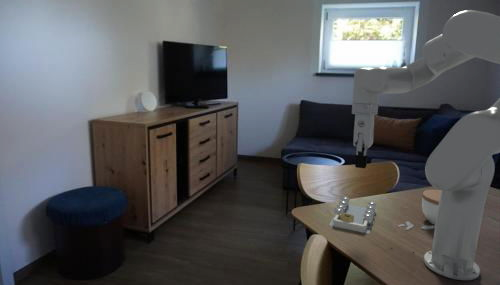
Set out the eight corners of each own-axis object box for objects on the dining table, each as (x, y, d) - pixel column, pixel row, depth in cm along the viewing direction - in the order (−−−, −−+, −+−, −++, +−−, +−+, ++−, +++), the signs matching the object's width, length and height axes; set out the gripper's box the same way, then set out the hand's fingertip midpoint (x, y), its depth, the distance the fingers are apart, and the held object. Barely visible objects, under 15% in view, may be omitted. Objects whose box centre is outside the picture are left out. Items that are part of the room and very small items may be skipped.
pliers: (441, 221, 116) (417, 233, 108) (441, 226, 117) (416, 238, 108) (412, 211, 124) (387, 222, 115) (411, 215, 124) (386, 226, 116)
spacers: (370, 226, 112) (371, 217, 112) (333, 218, 117) (334, 210, 116) (375, 210, 124) (376, 202, 124) (341, 204, 129) (342, 196, 128)
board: (368, 236, 107) (369, 227, 107) (328, 228, 112) (329, 219, 112) (376, 212, 125) (377, 204, 125) (341, 206, 130) (342, 198, 129)
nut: (351, 228, 110) (352, 219, 110) (338, 225, 112) (339, 216, 111) (354, 223, 114) (355, 214, 113) (341, 220, 116) (342, 211, 115)
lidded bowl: (468, 232, 112) (474, 199, 110) (425, 228, 114) (430, 195, 111) (453, 216, 124) (458, 185, 122) (414, 212, 126) (418, 182, 124)
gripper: (374, 112, 103) (370, 174, 106) (380, 107, 116) (375, 163, 119) (347, 110, 106) (344, 171, 109) (356, 106, 119) (352, 160, 122)
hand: (360, 167), depth 114 cm, fingers closed
